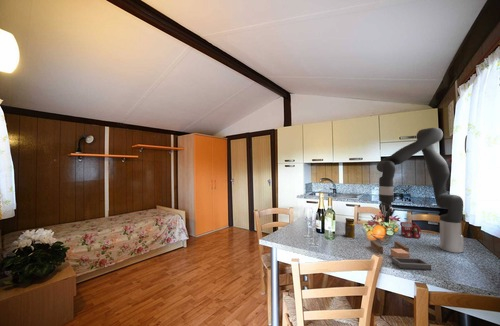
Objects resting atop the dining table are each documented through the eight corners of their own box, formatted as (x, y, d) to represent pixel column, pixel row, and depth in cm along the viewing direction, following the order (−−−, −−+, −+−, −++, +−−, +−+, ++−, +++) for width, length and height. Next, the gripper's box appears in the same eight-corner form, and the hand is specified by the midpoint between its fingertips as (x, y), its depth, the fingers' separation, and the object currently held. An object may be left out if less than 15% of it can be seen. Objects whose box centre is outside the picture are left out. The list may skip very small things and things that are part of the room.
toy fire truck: (423, 239, 140) (423, 224, 140) (403, 237, 143) (403, 223, 143) (418, 236, 147) (417, 221, 147) (398, 234, 150) (398, 220, 150)
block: (401, 256, 114) (401, 248, 114) (409, 260, 108) (409, 253, 108) (390, 255, 115) (390, 248, 115) (398, 260, 109) (397, 253, 109)
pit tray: (420, 263, 105) (420, 258, 105) (431, 270, 98) (431, 265, 98) (391, 262, 106) (391, 257, 106) (400, 268, 99) (400, 263, 99)
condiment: (357, 237, 144) (357, 220, 144) (350, 239, 140) (350, 221, 140) (347, 234, 150) (347, 217, 150) (340, 236, 146) (340, 219, 146)
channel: (397, 247, 125) (397, 241, 125) (408, 254, 115) (408, 247, 115) (370, 246, 126) (370, 240, 126) (379, 253, 116) (379, 246, 117)
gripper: (399, 195, 116) (400, 225, 116) (386, 192, 130) (386, 219, 129) (385, 195, 117) (386, 225, 117) (374, 192, 130) (374, 219, 130)
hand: (386, 222), depth 123 cm, fingers closed
